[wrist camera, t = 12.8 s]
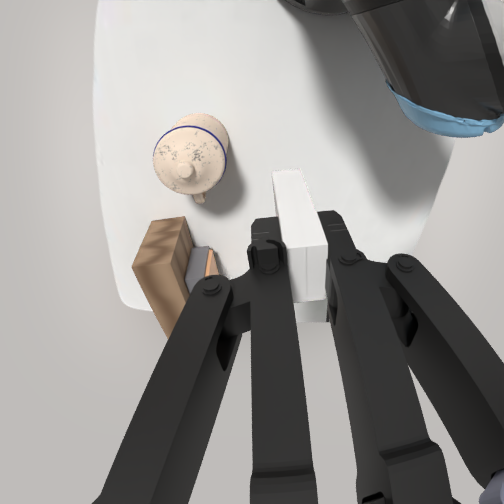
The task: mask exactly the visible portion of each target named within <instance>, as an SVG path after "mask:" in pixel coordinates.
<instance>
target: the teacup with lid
mask: <svg viewBox="0 0 504 504" xmlns="http://www.w3.org/2000/svg"><path fill="white" fill-rule="evenodd" d="M227 149H228V135H227V131H226V129H225V127H224V126H223V125H222V123H221V122H220V121H219V120H217V119H216V118H214V117H213V116H210V115H207V114H203V113H195V114H190V115H187V116H185V117H183V118H182V119H180V120H179V121H178V122H177V123H176V124H175V125H174V126H173V127H172V129H171V130H170V131H168V132H167V133H165V134H164V135H163V136H162V137H161V138H160V140H159V141H158V143H157V145H156V147H155V149H154V154H153V164H154V169H155V172H156V174H157V176H158V178H159V179H160V180H161V182H162V183H163V184H164V185H165V186H167V187H168V188H169V189H171V190H173V191H175V192H177V193H181V194H186V195H193V197H194V200H195V202H196V203H197V204H202V203H204V202H205V199H206V191H208V190H210V189H211V188H213V187H214V186H215V185H216V184H217V183H218V182H219V181H220V180H221V178H222V176H223V174H224V172H225V169H226V161H227V160H226V154H227Z"/></svg>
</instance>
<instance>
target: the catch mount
mask: <svg viewBox="0 0 504 504" xmlns="http://www.w3.org/2000/svg"><path fill="white" fill-rule="evenodd" d="M192 248H194V247H193V243H192V240H191V237H190V233H189V230H188V226H187V223H186V219H185V216H184V217H176V218H169V219H162V220H155V221H152V222H151V224H150V226H149V228H148V230H147V233H146V235H145V237H144V239H143V242H142V244H141V246H140V248H139V251H138V253H137V255H136V258H135V260H134V262H133V265H132V269H133V271H134V273H135V276H136V278H137V280H138V282H139V284H140V286H141V288H142V290H143V292H144V294H145V296H146V298H147V300H148V302H149V304H150V306H151V308H152V310H153V312H154V314H155V316H156V318H157V319H158V321H159V323H160V325H161V327H162V329H163V331H164V332H165V334H166V336H167V338H168V339H169V337H170V335H171V333H172V330H173V328H174V326H175V324H176V322H177V320H178V318H179V316H180V314H181V312H182V310H183V308H184V306H185V304H186V302H187V300H188V297H189V295H190V293H189V290H188V288H187V285H186V282H185V276H186V271H187V267H188V262H189V258H190V254H191V249H192Z"/></svg>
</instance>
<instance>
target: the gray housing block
mask: <svg viewBox="0 0 504 504" xmlns="http://www.w3.org/2000/svg"><path fill="white" fill-rule="evenodd" d="M209 275H219V273H218V269H217V265H216V261H215V258H214V254H213V250H210V249H209V246H204V247H195V248H192V249H191V254H190V258H189V262H188V267H187V271H186V276H185V282H186V285H187V288H188V290H189V293H191V291H192V289H193V287H194V286H195V284H196V283H197V282H198V281H199V280H200V279H202V278H203V277H206V276H209Z"/></svg>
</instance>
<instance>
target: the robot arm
mask: <svg viewBox="0 0 504 504" xmlns="http://www.w3.org/2000/svg"><path fill="white" fill-rule="evenodd" d="M286 1H287V2H288V3H290V4H292V5H293V6H295V7H297V8H300V9H302V10H305V11H308V12H311V13H315V14H322V15H336V14H343V13H347V12H349V13H350V14H351V17H352V18H353V20H354V21H355V23H356V25H357V26H358V28H359V30H360V31H361V33H362V35H363V36H364V38H365V40H366V42H367V43H368V45H369V47H370V49H371V51H372V53H373V54H374V56H375V58H376V60H377V62H378V64H379V66H380V68H381V70H382V72H383V74H384V76H385V78H386V83H387V86H388V88H389V89H390V91H391V92H392V93H393V94H394V95H395V97H396V99H397V101H398V103H399V105H400V107H401V109H402V111H403V113H404V114H405V116H406V117H407V118H408V119H410V120H411V121H412V122H413V123H414V124H415V125H417V126H418V127H420V128H422V129H424V130H426V131H429V132H432V133H435V134H438V135H443V136H449V137H461V138H462V137H463V138H466V137H467V138H468V137H477V136H482V135H483V132H488V133H492V132H494V131H496V130H497V129H499V128H500V127H501V126H502V124H503V123H504V2H503V1H501V0H286ZM272 180H273V190H274V200H275V210H276V217H268V218H259V219H255V221H254V222H253V224H252V225H251V240H252V241H251V244H250V245H249V246H248V249H247V255H248V261H249V267H250V269H249V270H248V271H247V272H246V273H245V274H243V275H242V276H240V277H238V278H235V279H232V280H229V279H227V278H226V277H225V276H222V275H209V276H206V277H203V278H202V279H200V280H199V281H198V282H197V283H196V284H195V286H194V287H193V289H192V291H191V293H190V295H189V297H188V300H187V302H186V304H185V306H184V308H183V310H182V312H181V314H180V316H179V318H178V320H177V322H176V324H175V326H174V328H173V330H172V333H171V335H170V337H169V339H168V341H167V343H166V345H165V347H164V349H163V352H162V354H161V356H160V358H159V360H158V362H157V364H156V367H155V369H154V371H153V373H152V375H151V378H150V380H149V382H148V384H147V386H146V389H145V391H144V393H143V395H142V398H141V400H140V402H139V404H138V406H137V409H136V411H135V413H134V415H133V418H132V420H131V422H130V425H129V427H128V429H127V432H126V434H125V436H124V439H123V441H122V443H121V446H120V448H119V450H118V453H117V455H116V458H115V460H114V462H113V465H112V467H111V470H110V472H109V475H108V477H107V479H106V482H105V484H104V487H103V489H102V492H101V494H100V496H99V497H98V498H97V499H96V500H95V501H94V502H93V503H92V504H188V502H189V499H190V496H191V493H192V490H193V487H194V484H195V481H196V478H197V475H198V472H199V469H200V466H201V463H202V460H203V457H204V454H205V451H206V448H207V444H208V442H209V438H210V436H211V433H212V429H213V426H214V423H215V420H216V417H217V414H218V410H219V408H220V404H221V401H222V398H223V395H224V392H225V389H226V385H227V382H228V379H229V376H230V373H231V370H232V366H233V363H234V360H235V357H236V354H237V350H238V347H239V344H240V340H241V337H242V333H244V332H247V331H250V330H251V379H252V380H251V381H252V383H251V384H252V444H253V446H252V448H253V449H252V451H253V470H252V475H251V481H250V504H318V497H317V485H316V478H315V472H314V468H313V461H312V452H311V441H310V432H309V422H308V413H307V405H306V396H305V388H304V380H303V371H302V364H301V356H300V349H299V341H298V333H297V326H296V318H295V311H294V304H293V303H298V302H307V301H316V300H324V299H325V296H326V294H327V298H328V306H327V318H326V322H329V319H330V323H331V328H332V332H333V337H334V341H335V346H336V350H337V356H338V361H339V366H340V371H341V375H342V381H343V386H344V391H345V397H346V402H347V408H348V413H349V420H350V425H351V432H352V438H353V444H354V451H355V458H356V465H357V479H356V492H357V501H358V504H461V503H460V502H458V501H457V500H455V499H454V498H453V497H452V495H451V489H450V484H449V478H448V473H447V468H446V464H445V459H444V456H443V453H442V450H441V448H440V447H439V445H438V444H436V443H435V442H433V441H431V440H430V438H429V435H428V433H427V429H426V425H425V421H424V417H423V414H422V410H421V406H420V403H419V400H418V396H417V393H416V389H415V386H414V383H413V380H412V377H411V373H410V370H409V367H410V368H411V370H412V372H413V373H414V375H415V376H416V378H417V380H418V381H419V383H420V385H421V386H422V388H423V390H424V391H425V393H426V395H427V396H428V398H429V400H430V401H431V403H432V404H433V406H434V408H435V410H436V411H437V413H438V415H439V417H440V418H441V420H442V422H443V424H444V426H445V427H446V429H447V431H448V433H449V435H450V436H451V438H452V440H453V442H454V444H455V446H456V447H457V449H458V451H459V453H460V455H461V457H462V459H463V461H464V463H465V465H466V466H467V468H468V470H469V471H470V473H471V474H472V476H473V477H474V478H475V479H476V481H477V482H478V483H479V484H480V485H481V486H482V487H483V488H484V489H485V491H484V492H483V493H482V494H481V495H480V498H479V504H504V363H503V362H502V360H501V359H500V358H499V357H498V355H497V354H496V352H495V351H494V349H493V348H492V347H491V345H490V344H489V343H488V342H487V340H486V339H485V338H484V336H483V335H482V334H481V332H480V331H479V330H478V329H477V327H476V326H475V325H474V324H473V322H472V321H471V320H470V318H469V317H468V316H467V315H466V314H465V312H464V311H463V310H462V309H461V308H460V306H459V305H458V304H457V303H456V302H455V300H454V299H453V298H452V297H451V296H450V295H449V294H448V292H447V291H446V290H445V289H444V288H443V287H442V286H441V285H440V283H439V282H438V281H437V280H436V279H435V278H434V277H433V276H432V274H431V273H430V272H429V271H428V270H427V269H426V268H425V267H424V266H423V265H422V264H421V263H420V262H419V260H417V259H416V258H414V257H413V256H410V255H408V254H395V255H393V256H392V257H390V259H389V260H388V263H381V262H374V261H370V260H368V259H367V258H366V256H365V255H364V254H363V253H362V252H361V251H359V250H358V249H356V247H355V245H354V243H353V241H352V238H351V236H350V234H349V232H348V230H347V227H346V225H345V223H344V221H343V219H342V216H341V215H339V214H338V213H337V212H336V211H334V210H332V211H321V212H317V211H316V209H315V206H314V203H313V200H312V198H311V195H310V192H309V190H308V187H307V184H306V182H305V179H304V176H303V174H302V171H301V169H300V168H298V169H287V170H277V171H272ZM408 365H409V367H408Z"/></svg>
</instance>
